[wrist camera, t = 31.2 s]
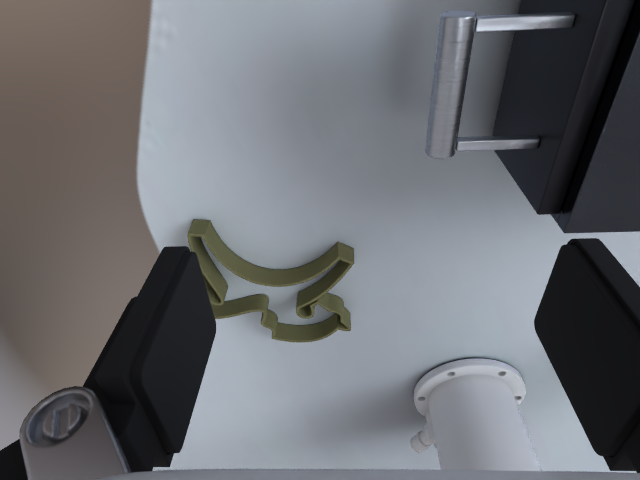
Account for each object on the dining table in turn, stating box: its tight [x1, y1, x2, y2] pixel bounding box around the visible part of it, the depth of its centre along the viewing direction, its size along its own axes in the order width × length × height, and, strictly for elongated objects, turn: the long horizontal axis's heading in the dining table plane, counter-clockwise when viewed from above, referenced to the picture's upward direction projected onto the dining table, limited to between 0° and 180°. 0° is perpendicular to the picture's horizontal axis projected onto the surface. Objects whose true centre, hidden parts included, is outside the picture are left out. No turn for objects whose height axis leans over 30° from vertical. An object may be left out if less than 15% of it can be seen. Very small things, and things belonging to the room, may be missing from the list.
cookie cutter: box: [188, 219, 354, 342], centre depth 40 cm, size 18×12×2 cm, turn 78°
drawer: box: [425, 0, 635, 215], centre depth 23 cm, size 22×13×9 cm, turn 93°
